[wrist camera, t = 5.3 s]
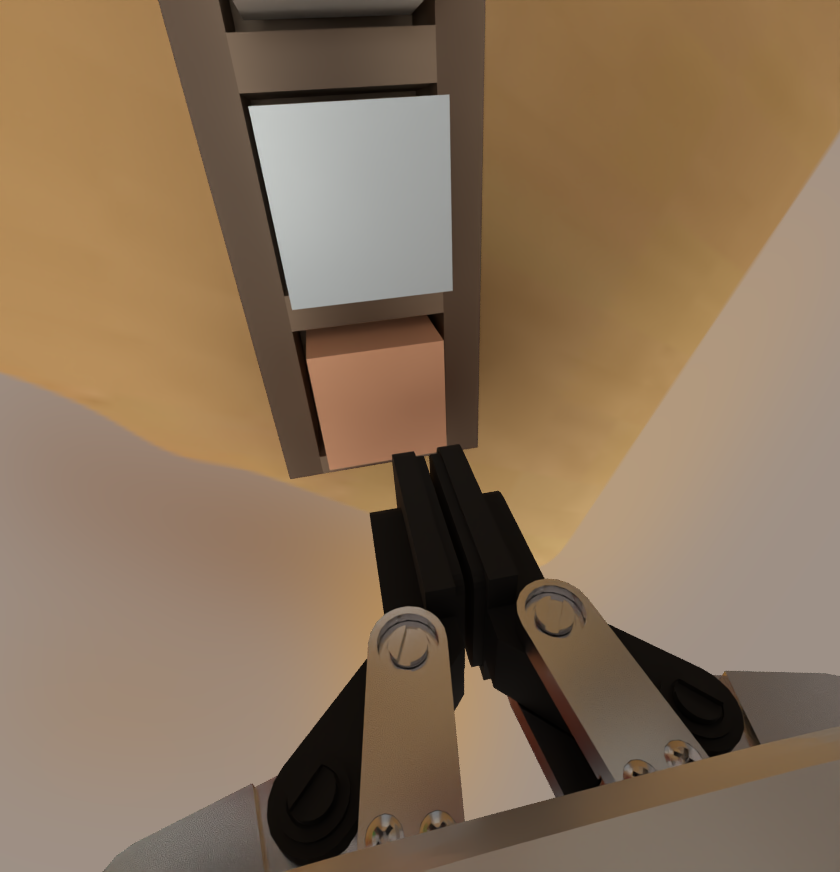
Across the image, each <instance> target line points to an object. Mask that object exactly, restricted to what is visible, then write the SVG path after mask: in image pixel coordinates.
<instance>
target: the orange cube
mask: <svg viewBox="0 0 840 872" xmlns="http://www.w3.org/2000/svg"><path fill="white" fill-rule="evenodd" d="M306 360H307V365H308V369H309V374H310V379H311V384H312V388H313V393H314V398H315V403H316V407H317V412H318V417H319V422H320V426H321V431H322V436H323V441H324V445H325V450H326V455H327V460H328V464H329V469H330V470H335V469H341V468H347V467H353V466H359V465H365V464H371V463H376V462H382V461H388V460H392V454H398V453H404V452H410V451H414V452H415V455H416V456H418V455H424V454H429V453H435V452H437V447H442V446H447V438H446V404H445V369H444V340H443V339H442V337H441V336H440V334H439V333H438V331H437V330H436V328H435V327H434V325H433V324H432V322H431V321H430V319H429V318H428V316H427V315H420V316H412V317H404V318H397V319H389V320H381V321H373V322H365V323H357V324H349V325H341V326H333V327H325V328H318V329H310V330H306Z"/></svg>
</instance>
